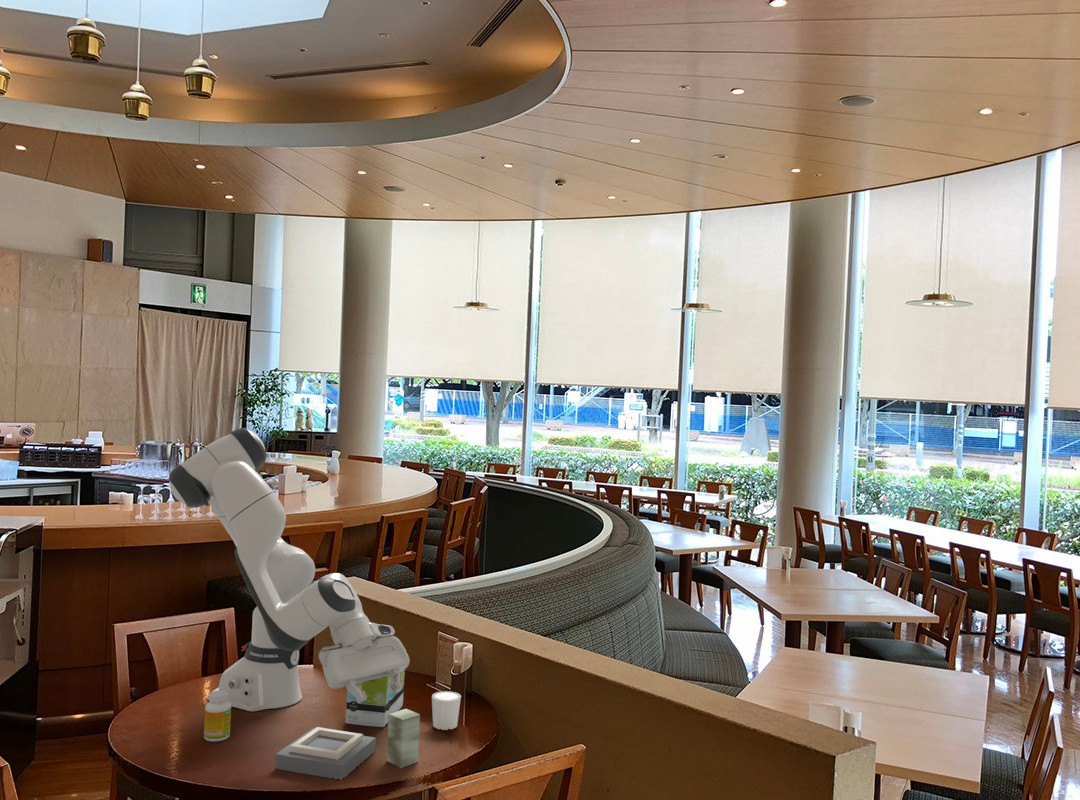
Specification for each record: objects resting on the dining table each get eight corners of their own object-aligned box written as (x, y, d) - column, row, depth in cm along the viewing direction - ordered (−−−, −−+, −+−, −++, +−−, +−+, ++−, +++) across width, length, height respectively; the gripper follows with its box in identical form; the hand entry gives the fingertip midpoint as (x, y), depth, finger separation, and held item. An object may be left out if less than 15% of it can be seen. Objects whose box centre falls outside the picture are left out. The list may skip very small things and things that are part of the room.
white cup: (454, 732, 200) (456, 702, 200) (426, 728, 201) (427, 698, 201) (463, 721, 206) (464, 692, 206) (435, 718, 208) (437, 689, 208)
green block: (386, 761, 183) (388, 713, 183) (403, 755, 186) (405, 708, 186) (401, 768, 180) (403, 719, 180) (417, 761, 183) (419, 714, 183)
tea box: (386, 728, 200) (388, 664, 200) (344, 724, 202) (346, 661, 202) (404, 706, 215) (406, 646, 215) (365, 702, 217) (367, 643, 217)
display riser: (275, 768, 177) (275, 748, 177) (313, 741, 191) (313, 722, 191) (341, 780, 173) (342, 759, 173) (375, 751, 187) (376, 732, 187)
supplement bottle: (227, 741, 189) (229, 697, 189) (201, 742, 188) (203, 697, 188) (231, 732, 194) (233, 689, 194) (206, 732, 193) (208, 689, 193)
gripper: (322, 640, 184) (347, 699, 177) (398, 625, 199) (424, 678, 193) (309, 656, 187) (333, 714, 180) (385, 640, 202) (410, 693, 196)
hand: (380, 695), depth 187 cm, fingers open, 8 cm apart
